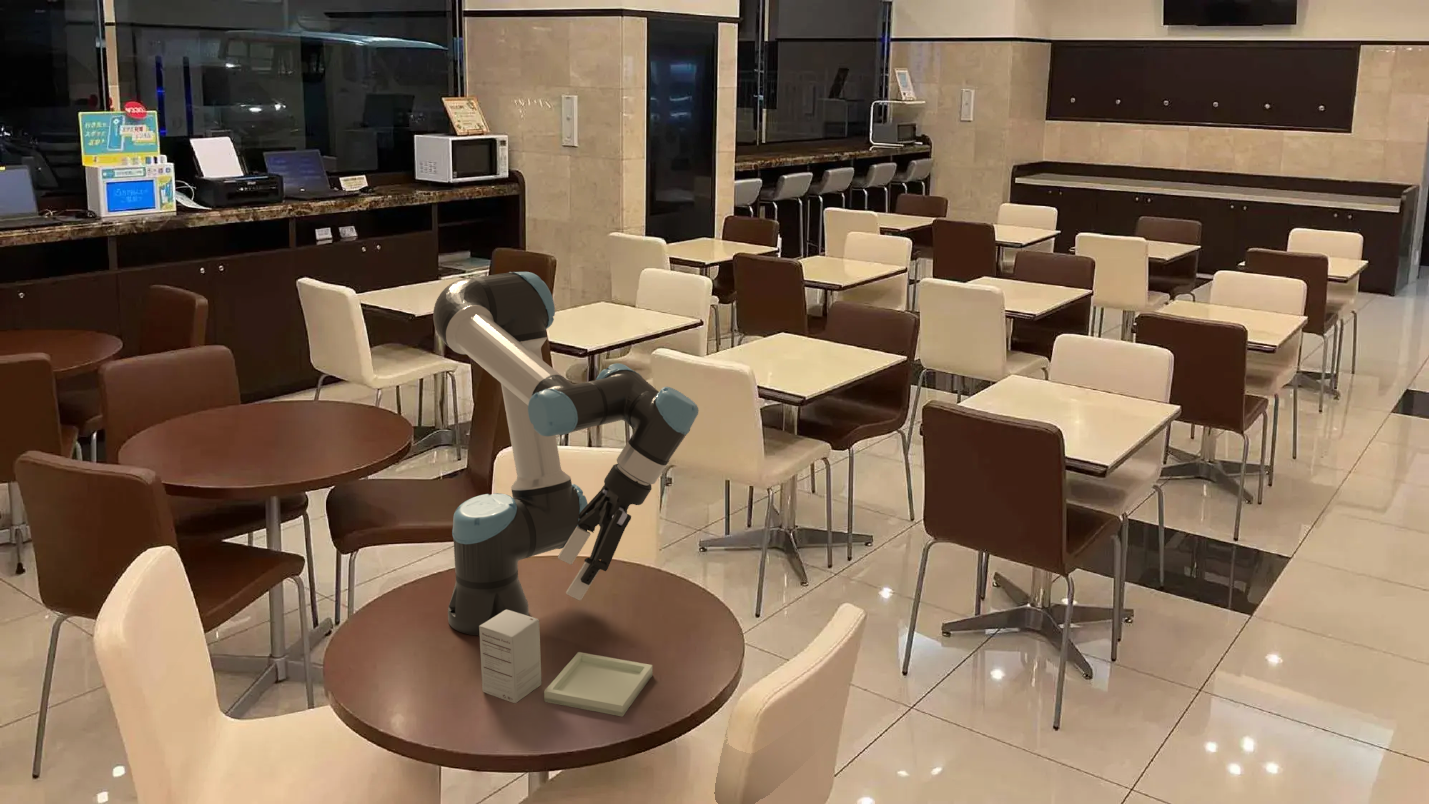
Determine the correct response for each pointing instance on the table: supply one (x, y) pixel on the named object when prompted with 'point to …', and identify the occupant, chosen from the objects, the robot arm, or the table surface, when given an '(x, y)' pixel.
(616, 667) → the tray
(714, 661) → the table surface
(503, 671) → the supplement box
